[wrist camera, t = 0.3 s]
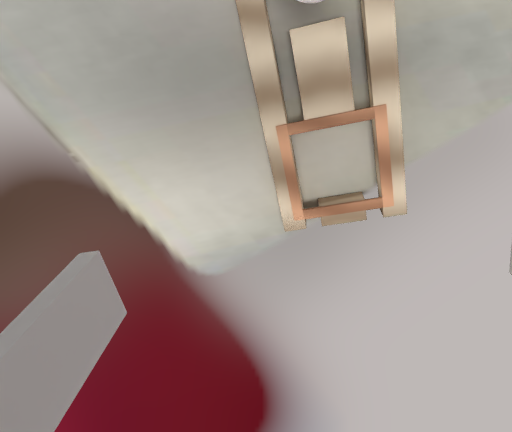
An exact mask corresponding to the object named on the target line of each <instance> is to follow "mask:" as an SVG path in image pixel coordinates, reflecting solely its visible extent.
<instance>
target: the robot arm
mask: <svg viewBox="0 0 512 432" xmlns="http://www.w3.org/2000/svg"><path fill="white" fill-rule="evenodd" d="M510 274H511V275H512V246H511V259H510ZM126 313H127V312H126V309H125V307H124V305H123V303H122V300H121V298H120V296H119V294H118V292H117V289H116V287H115V285H114V283H113V281H112V279H111V276H110V274H109V272H108V270H107V268H106V265H105V263H104V261H103V259H102V257H101V254H100V252H99V251H94V252H86V253H79V255H77V256H76V257H75V258H74V259H73V260H72V262H71V263H69V264H68V266H67V267H66V268H65V269H64V270H63V271H62V272H61V273H60V274H59V275H58V276H57V277H56V278H55V279H54V280H53V281H52V282H51V283H50V284H49V285H48V286H47V287H46V288H45V289H44V290H43V291H42V292H41V293H40V294H39V295H38V296H37V297H36V298H35V299H34V300H33V301H32V302H31V303H30V304H29V305H28V306H27V307H26V308H25V309H24V310H23V311H22V312H21V313H20V314H19V315H18V316H17V317H16V318H15V319H14V320H13V322H11V323H10V324H9V326H7V328H6V329H5V330H4V331H3V332H2V333H1V334H0V432H54V431H55V429H56V428H57V426H58V424H59V423H60V421H61V419H62V418H63V416H64V414H65V413H66V411H67V410H68V408H69V406H70V405H71V403H72V402H73V400H74V398H75V397H76V395H77V393H78V391H79V390H80V388H81V387H82V385H83V384H84V382H85V380H86V378H87V377H88V375H89V374H90V372H91V370H92V369H93V367H94V365H95V364H96V362H97V361H98V359H99V357H100V356H101V354H102V353H103V351H104V349H105V348H106V346H107V344H108V343H109V341H110V340H111V338H112V336H113V335H114V333H115V331H116V330H117V328H118V326H119V325H120V323H121V322H122V320H123V318H124V317H125V315H126Z"/></svg>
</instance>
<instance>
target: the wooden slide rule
mask: <svg viewBox="0 0 512 432" xmlns="http://www.w3.org/2000/svg"><path fill="white" fill-rule="evenodd" d="M235 1H236V5H237V10H238V15H239V19H240V24H241V29H242V33H243V38H244V43H245V47H246V52H247V57H248V61H249V66H250V71H251V75H252V80H253V85H254V89H255V94H256V99H257V103H258V108H259V113H260V117H261V122H262V127H263V131H264V136H265V141H266V145H267V150H268V155H269V159H270V164H271V169H272V173H273V178H274V183H275V187H276V192H277V197H278V201H279V206H280V211H281V215H282V220H283V225H284V229H285V231H292V230H299V229H306V219H310V218H317V217H321V223H322V226H327V225H333V224H341V223H347V222H355V221H362V220H367V218H366V210H370V209H377V208H380V210H381V212H382V215H383V217H390V216H396V215H403V214H407V203H406V188H405V170H404V154H403V137H402V120H401V104H400V87H399V71H398V54H397V38H396V21H395V5H394V0H360V1H361V12H362V22H363V33H364V44H365V55H366V65H367V76H368V87H369V98H370V107H368V108H363V109H358V110H355V108H354V99H353V90H352V81H351V72H350V63H349V54H348V45H347V36H346V27H345V18H344V17H340V18H336V19H332V20H328V21H323V22H319V23H315V24H311V25H307V26H303V27H299V28H295V29H291V30H289V31H290V37H291V43H292V49H293V55H294V61H295V67H296V73H297V79H298V85H299V91H300V97H301V103H302V109H303V115H304V120H303V121H298V122H293V123H288V119H287V114H286V108H285V103H284V98H283V92H282V87H281V81H280V76H279V71H278V65H277V60H276V54H275V49H274V44H273V38H272V33H271V27H270V22H269V17H268V11H267V6H266V0H235ZM371 119H372V130H373V140H374V151H375V162H376V173H377V183H378V194H379V197H378V198H372V199H364V197H363V194H362V192H356V193H350V194H344V195H337V196H331V197H325V198H318V204H319V207H313V208H307V209H304V206H303V200H302V195H301V190H300V184H299V179H298V173H297V168H296V163H295V157H294V152H293V146H292V141H291V135H293V134H298V133H303V132H309V131H314V130H319V129H324V128H329V127H335V126H340V125H345V124H350V123H355V122H361V121H366V120H371Z"/></svg>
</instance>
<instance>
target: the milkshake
mask: <svg viewBox="0 0 512 432" xmlns="http://www.w3.org/2000/svg"><path fill="white" fill-rule="evenodd" d="M297 1H300V2H303V3H318V2H321V1H324V0H297Z"/></svg>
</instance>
